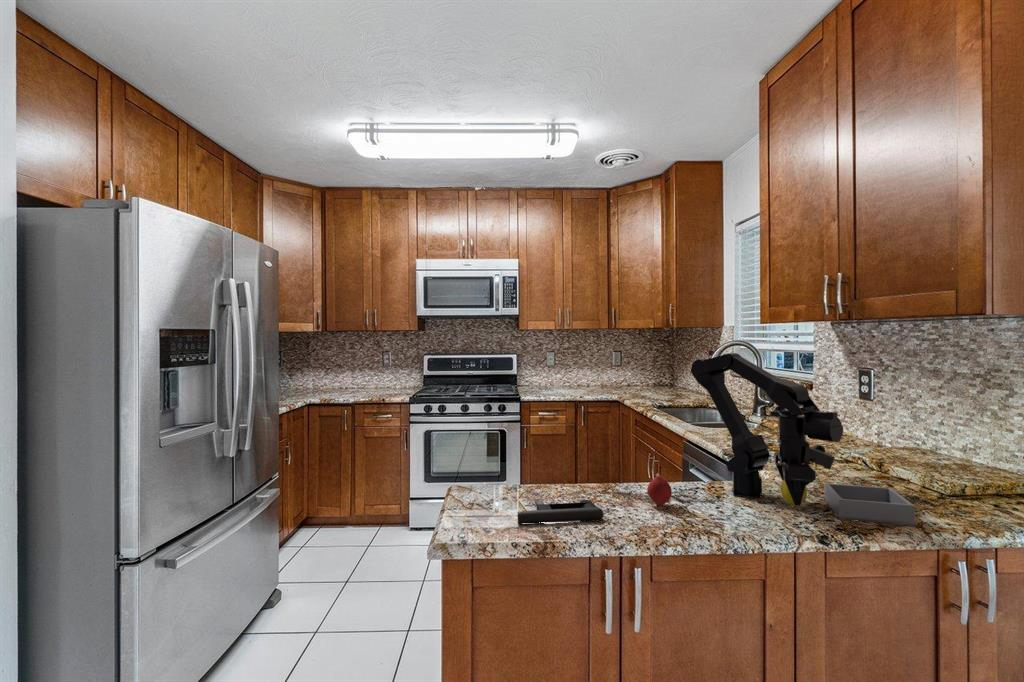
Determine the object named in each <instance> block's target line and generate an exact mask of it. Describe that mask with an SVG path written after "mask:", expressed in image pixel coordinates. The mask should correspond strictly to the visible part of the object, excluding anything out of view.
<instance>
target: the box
mask: <svg viewBox="0 0 1024 682" xmlns="http://www.w3.org/2000/svg"><path fill="white" fill-rule="evenodd" d="M823 484H824V485H823V487H824V488H823V489H824V495H823V496H824V502H825V504H828V505H829V506H828V505H827V506H828V507H829V508H830V509H832V510H833V511H832V510H831V511H832V512H833V514H834V515H835V514H836V515H837V516H836V515H835V516H836V517H837V518H838V519H845V520H844V521H850V520H858V521H857V522H861V521H867V522H866V523H871V522H876V523H875V524H882V523H885V524H884V525H893V524H895V525H896V526H904V525H909V526H908V527H916V515H915V513H916V512H915V510H916V509H915V508H916V507H915V505H914V504H913V503H911V501H909V500H908V499H906V498H905V497H904V496H902V495H901V494H900V493H898V492H897V491H896V490H895V489H894V488H892V487H883V486H873V485H872V486H870V485H869V486H868V485H867V486H866V485H858V484H856V485H855V484H844V483H843V484H841V483H829V482H828V483H826V482H824V483H823Z"/></svg>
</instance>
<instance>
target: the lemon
mask: <svg viewBox="0 0 1024 682" xmlns="http://www.w3.org/2000/svg"><path fill="white" fill-rule="evenodd" d="M780 492H781V493H780V494H781V497H782V498H783V500H784V502H786V503H787V504H789V505H790V506H791V507H792V506H793V508H797V506H796V505H795V504H794V502H793V500H792V497H791V495H790V492H789V490H788V487H787V485H786V483H785V480H783V481H782V482H781V486H780ZM807 497H808V490H807V486H806V487H805V490H804V493H803V497H802V501H801V504H800V505H803V503H804V502H805V501H806V499H807Z"/></svg>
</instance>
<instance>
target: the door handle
mask: <svg viewBox="0 0 1024 682" xmlns="http://www.w3.org/2000/svg"><path fill="white" fill-rule="evenodd" d="M534 504H536V505H535V507H536V506H537V507H536V509H533V510H521V511H517V524H518V523H539V522H540V523H541V522H569V521H570V522H576V521H577V522H578V521H584V522H596V521H595V520H600V521H601V520H602V519H603V518H604V511H603V509H601V507H598V506H597V505H596V504H595V503H593V502H592V500H590V499H583V500H580V501H579V502H566V503H565V502H564V503H562V502H561V503H545V502H544V501H543V499H542V498H535V499H534ZM593 520H594V521H593Z"/></svg>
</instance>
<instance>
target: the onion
mask: <svg viewBox="0 0 1024 682" xmlns="http://www.w3.org/2000/svg"><path fill="white" fill-rule="evenodd" d="M655 476H656V477H655V478H653V479H651V480H650V482H649V483H648V485H647V490H646V493H647V496H648V497H649V499H650V500H651V501H652V502H653V503H654V504H655V505H656V506H657V505H658V506H657V507H662V506H663V505H665V504H667V502H669V501H670V500H671V498H672V493H673V491H672V487H671V485H670V484H669V482H668V480H666V479H665V478H663V477H662V475H660V474H659V473H656V475H655Z"/></svg>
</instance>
